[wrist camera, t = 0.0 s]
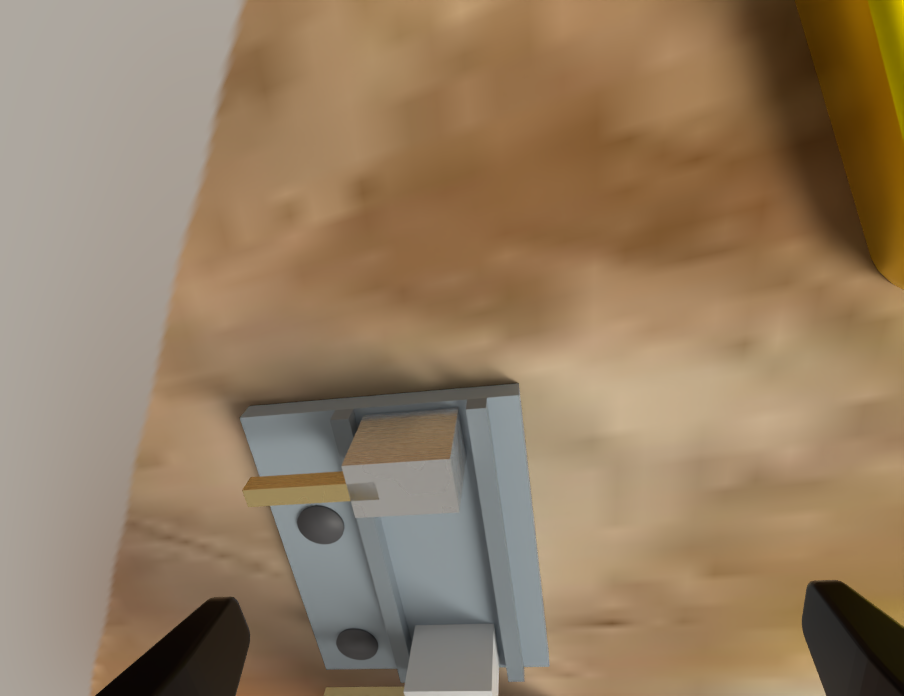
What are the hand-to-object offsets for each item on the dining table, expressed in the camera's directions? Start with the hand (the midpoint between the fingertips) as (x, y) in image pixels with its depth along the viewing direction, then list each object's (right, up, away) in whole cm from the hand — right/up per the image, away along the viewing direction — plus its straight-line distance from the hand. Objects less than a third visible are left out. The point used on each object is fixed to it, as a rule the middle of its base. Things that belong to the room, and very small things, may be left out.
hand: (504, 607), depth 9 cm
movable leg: (-4, 0, +15) cm, 16 cm away
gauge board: (-3, -5, +19) cm, 20 cm away
